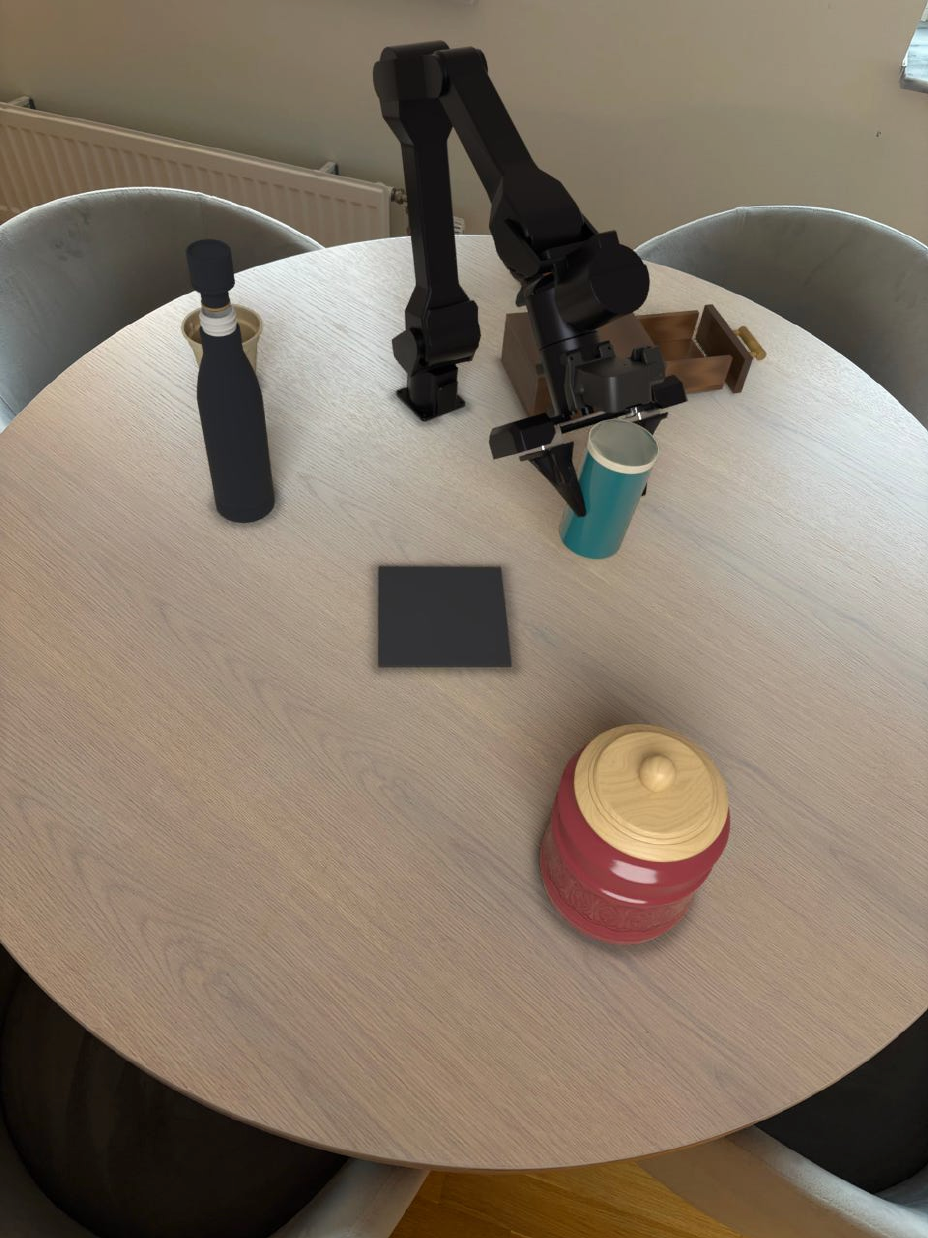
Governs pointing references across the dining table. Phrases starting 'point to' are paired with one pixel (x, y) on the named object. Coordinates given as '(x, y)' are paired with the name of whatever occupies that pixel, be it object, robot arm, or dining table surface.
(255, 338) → the flower pot
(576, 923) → the kitchen canister
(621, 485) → the tumbler
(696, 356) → the drawer
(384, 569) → the coaster
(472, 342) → the robot arm
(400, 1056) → the dining table surface
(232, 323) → the black water bottle
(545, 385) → the cabinet
